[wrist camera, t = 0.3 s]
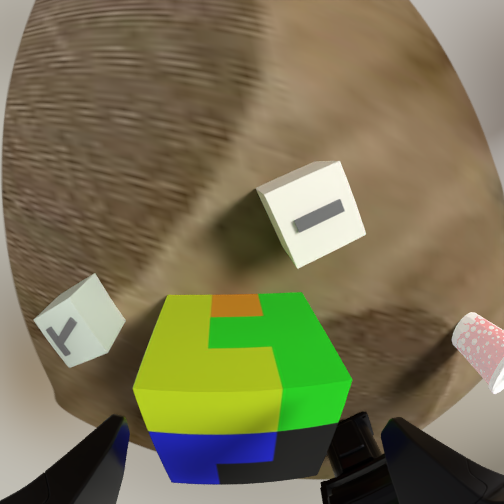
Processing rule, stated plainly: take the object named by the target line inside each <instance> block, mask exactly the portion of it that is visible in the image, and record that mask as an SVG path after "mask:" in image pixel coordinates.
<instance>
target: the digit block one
mask: <svg viewBox="0 0 504 504" xmlns="http://www.w3.org/2000/svg"><path fill="white" fill-rule="evenodd" d="M255 189H256V191H257V193H258V195H259V197H260V199H261V201H262V203H263V206H264V208H265V210H266V212H267V214H268V216H269V218H270V221H271V223H272V225H273V227H274V229H275V232H276V234H277V236H278V238H279V240H280V242H281V245H282V247H283V248H284V250H285V251H286V253H287V254H288V255H289V257H290V258H291V260H292V261H293V263H294V264H295V266H296V267H297V269H298V268H300V267H302V266H304V265H306V264H308V263H310V262H312V261H314V260H316V259H318V258H320V257H322V256H324V255H326V254H328V253H330V252H332V251H334V250H336V249H338V248H340V247H342V246H344V245H346V244H348V243H350V242H352V241H354V240H356V239H358V238H360V237H362V236H364V235H366V233H365V229H364V226H363V223H362V220H361V217H360V214H359V211H358V208H357V206H356V203H355V200H354V197H353V194H352V192H351V189H350V186H349V183H348V181H347V178H346V176H345V173H344V170H343V168H342V165H341V163H340V161H315V162H313V163H310V164H308V165H306V166H303V167H301V168H299V169H296V170H294V171H292V172H290V173H287V174H285V175H283V176H281V177H279V178H276V179H274V180H272V181H270V182H268V183H265V184H263V185H261V186H259V187H257V188H255Z"/></svg>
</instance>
